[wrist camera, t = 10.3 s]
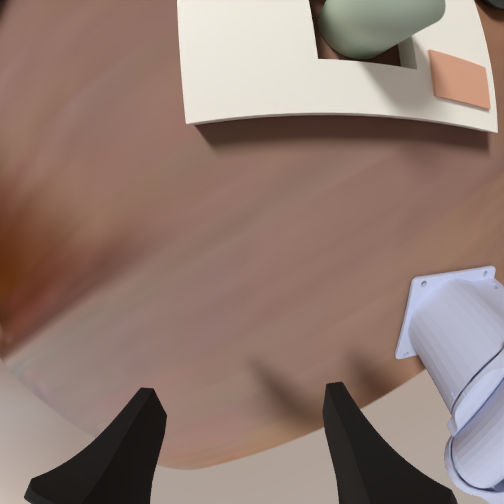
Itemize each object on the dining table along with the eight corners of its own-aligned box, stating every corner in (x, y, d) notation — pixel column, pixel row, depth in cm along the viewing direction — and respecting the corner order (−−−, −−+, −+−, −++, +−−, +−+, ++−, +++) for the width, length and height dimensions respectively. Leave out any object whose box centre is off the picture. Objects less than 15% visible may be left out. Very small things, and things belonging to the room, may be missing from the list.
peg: (380, 6, 12) (431, -38, 5) (390, 64, 13) (454, 36, 7) (313, -3, 12) (341, -64, 5) (321, 56, 13) (359, 10, 7)
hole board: (455, -8, 10) (470, -16, 7) (480, 130, 14) (500, 133, 12) (183, -33, 11) (175, -50, 8) (194, 125, 15) (184, 123, 13)
